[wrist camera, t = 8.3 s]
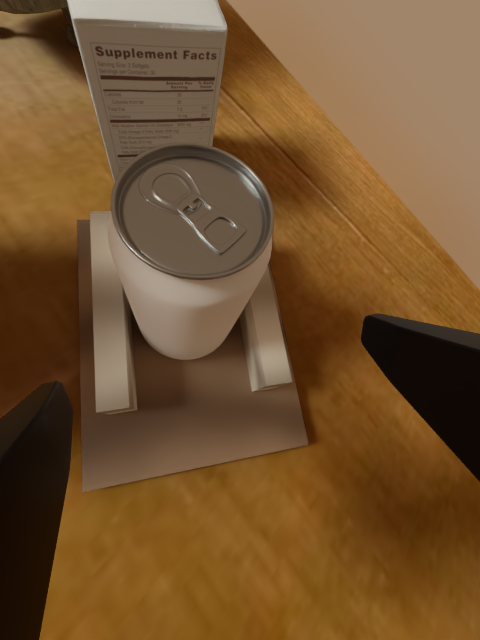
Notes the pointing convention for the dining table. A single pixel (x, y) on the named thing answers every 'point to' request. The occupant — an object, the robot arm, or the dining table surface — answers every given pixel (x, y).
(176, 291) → the can
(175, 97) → the supplement box
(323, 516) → the dining table surface
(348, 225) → the dining table surface
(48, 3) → the tabletop clock
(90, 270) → the slot block
